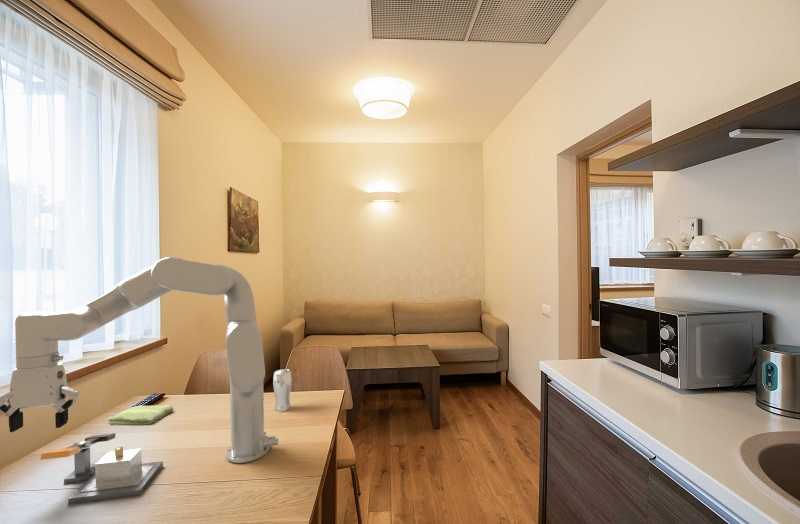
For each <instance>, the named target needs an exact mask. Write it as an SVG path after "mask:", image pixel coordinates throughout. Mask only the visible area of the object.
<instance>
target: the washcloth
mask: <svg viewBox="0 0 800 524" xmlns="http://www.w3.org/2000/svg"><path fill="white" fill-rule="evenodd" d="M172 412H174V408H173V406H172V405H170V404H165V405H158V404H156V405H135V406H133V407H130V408H128V409H125V410H122V411H121V412H119V413H118V414H115V415H114V416H110V417H108V419H107V421H108V422H109V425H110V424H112V426H114V425H115V424H119V425H118V426H123V425H126V426H132V425H134V426H149V425H152V424H153V423H156V422H157V421H159V420H160V419H161V418H163V417H166V416H167V415H169V414H170V413H172ZM113 424H114V425H113ZM115 426H116V425H115Z"/></svg>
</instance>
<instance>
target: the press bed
mask: <svg viewBox="0 0 800 524" xmlns="http://www.w3.org/2000/svg"><path fill="white" fill-rule="evenodd" d="M73 458H74V470H73V471H72V472H70V473H69V474H68V475H67V476H65V478H64V479H63V485H65V484H71V483H72V484H73V483H81V482H84V483H83V484H82V485H80V487H79V488H77V490H76V491H74V492H73V494H71V495H70V497H68V498H67V504H68V505H76V504H83V503H84V504H85V503H86V504H87V503H93V502H99V501H109V500H115V499H116V500H117V499H122V498H131V497H137V496H138V497H139V496H141V495H142V494H143V493H144V492H145V490H146V489H147V488H148V486H149V485H150V484H151V483H152V481H154V479H155V477H157V475H158V473H159V472H160V471H161V470H160V469H163V467H164V461H162V460H161V461H156V462H155V461H154V462H147V463H144V462H142V470H141V471H140V472H139V473H138V474H137V476H136V477H135V478H134V479H133V480H132V481H131V482H130V483H122V484H114V485H106V486H98V487H96V476H95V466H91V448H90V447H88V448H81V449H79V453H76V454H74V457H73Z"/></svg>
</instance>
